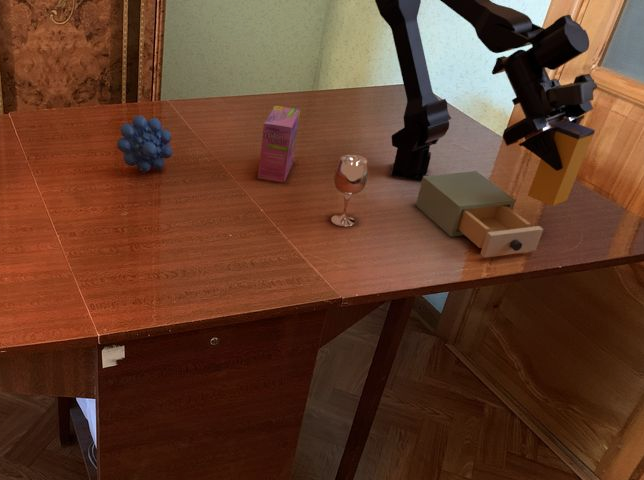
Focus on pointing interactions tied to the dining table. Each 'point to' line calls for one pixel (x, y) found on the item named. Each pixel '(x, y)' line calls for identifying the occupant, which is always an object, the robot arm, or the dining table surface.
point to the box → (278, 143)
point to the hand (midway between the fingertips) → (567, 166)
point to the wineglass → (349, 183)
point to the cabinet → (458, 197)
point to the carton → (572, 151)
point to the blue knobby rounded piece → (144, 143)
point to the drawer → (499, 230)
